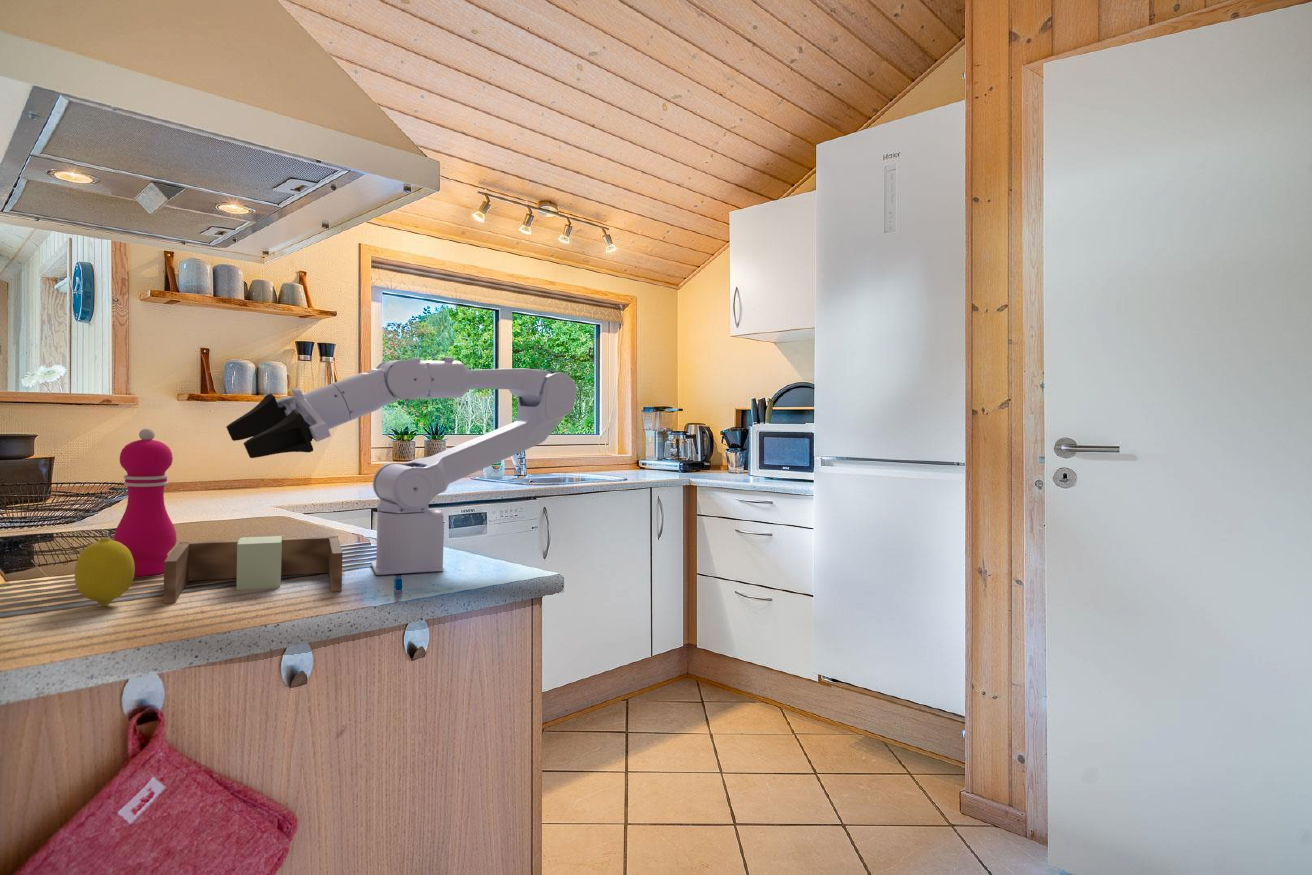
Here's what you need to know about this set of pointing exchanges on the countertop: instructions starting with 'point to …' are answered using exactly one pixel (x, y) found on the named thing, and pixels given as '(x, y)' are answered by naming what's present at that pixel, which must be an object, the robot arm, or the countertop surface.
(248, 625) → the countertop surface
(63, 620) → the countertop surface
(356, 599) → the countertop surface
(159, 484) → the pepper mill
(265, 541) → the block
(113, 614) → the countertop surface
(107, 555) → the lemon
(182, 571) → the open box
